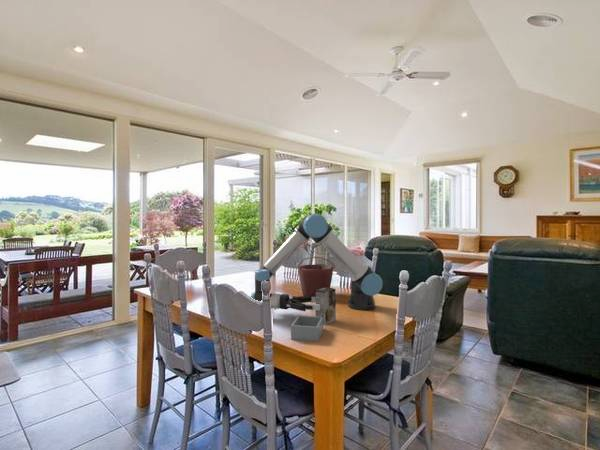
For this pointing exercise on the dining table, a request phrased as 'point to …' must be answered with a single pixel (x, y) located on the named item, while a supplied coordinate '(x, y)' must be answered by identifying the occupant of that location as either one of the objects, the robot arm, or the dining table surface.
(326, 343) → the dining table surface
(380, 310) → the dining table surface
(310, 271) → the bucket
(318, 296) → the coffee box
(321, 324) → the grey well
